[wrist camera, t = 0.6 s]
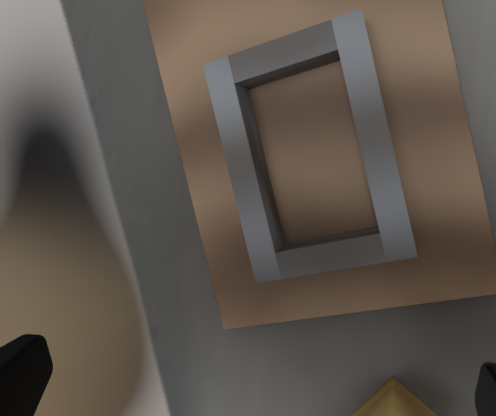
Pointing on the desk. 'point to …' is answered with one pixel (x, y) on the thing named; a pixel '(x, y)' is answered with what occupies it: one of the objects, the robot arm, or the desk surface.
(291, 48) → the socket holder
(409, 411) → the keyed peg
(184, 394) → the desk surface
